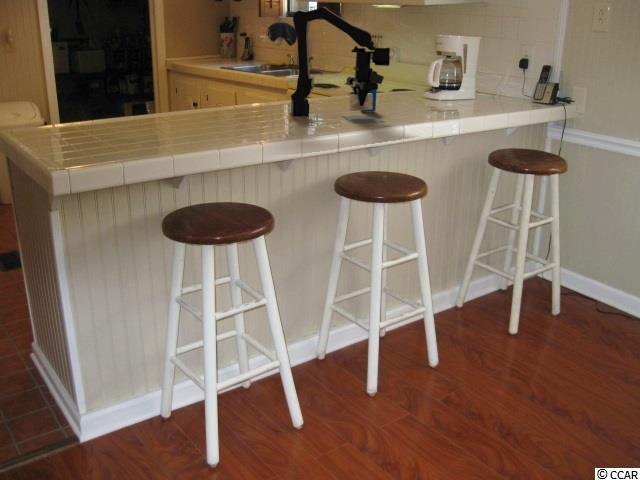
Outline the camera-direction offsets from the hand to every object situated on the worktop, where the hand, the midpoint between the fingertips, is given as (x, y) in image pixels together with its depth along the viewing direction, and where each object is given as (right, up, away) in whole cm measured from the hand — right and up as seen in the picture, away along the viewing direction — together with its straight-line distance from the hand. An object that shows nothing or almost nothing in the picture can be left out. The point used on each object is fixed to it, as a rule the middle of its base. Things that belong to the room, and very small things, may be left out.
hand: (360, 105), depth 250 cm
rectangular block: (0, -2, +1) cm, 2 cm away
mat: (+1, -6, -1) cm, 6 cm away
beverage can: (+4, +1, +17) cm, 18 cm away
